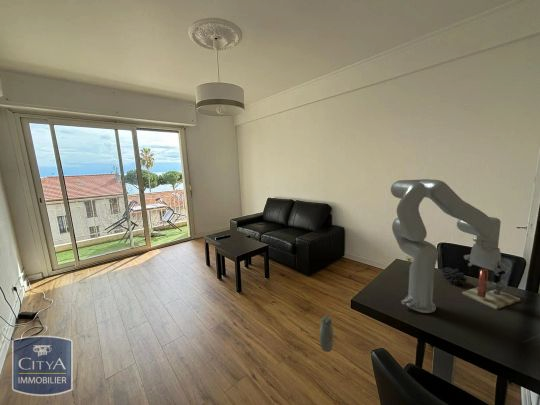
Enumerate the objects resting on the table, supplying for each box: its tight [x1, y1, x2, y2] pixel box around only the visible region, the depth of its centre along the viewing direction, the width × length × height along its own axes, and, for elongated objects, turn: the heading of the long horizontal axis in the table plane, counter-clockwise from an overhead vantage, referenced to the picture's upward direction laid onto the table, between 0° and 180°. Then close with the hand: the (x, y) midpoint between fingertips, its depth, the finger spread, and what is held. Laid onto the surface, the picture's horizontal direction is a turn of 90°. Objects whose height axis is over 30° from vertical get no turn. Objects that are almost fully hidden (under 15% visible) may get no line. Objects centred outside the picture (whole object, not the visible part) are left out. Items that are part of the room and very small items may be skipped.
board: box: [461, 286, 521, 310], centre depth 113 cm, size 18×14×5 cm
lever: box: [477, 268, 508, 297], centre depth 111 cm, size 19×4×14 cm, turn 109°
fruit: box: [441, 267, 468, 286], centre depth 129 cm, size 9×8×15 cm
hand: (483, 277), depth 108 cm, fingers open, 9 cm apart
